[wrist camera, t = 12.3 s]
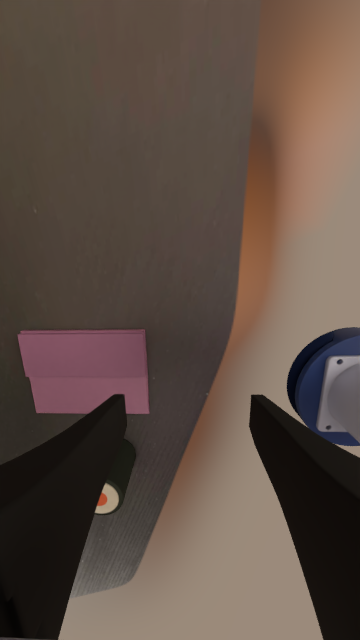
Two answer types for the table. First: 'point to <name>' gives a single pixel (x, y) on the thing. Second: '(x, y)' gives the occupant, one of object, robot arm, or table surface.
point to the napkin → (85, 368)
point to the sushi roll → (117, 481)
